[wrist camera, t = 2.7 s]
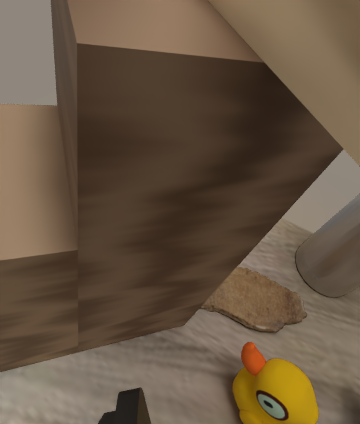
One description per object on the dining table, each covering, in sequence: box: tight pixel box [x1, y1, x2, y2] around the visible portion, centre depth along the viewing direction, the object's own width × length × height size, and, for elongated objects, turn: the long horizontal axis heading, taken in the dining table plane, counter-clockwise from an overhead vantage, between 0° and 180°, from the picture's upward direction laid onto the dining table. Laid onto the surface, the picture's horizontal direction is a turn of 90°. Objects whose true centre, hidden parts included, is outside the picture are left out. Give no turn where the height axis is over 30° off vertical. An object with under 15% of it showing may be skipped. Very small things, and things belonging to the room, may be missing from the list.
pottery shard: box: [200, 267, 307, 332], centre depth 40 cm, size 8×16×2 cm, turn 72°
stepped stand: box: [0, 0, 343, 372], centre depth 22 cm, size 24×11×32 cm, turn 107°
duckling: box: [233, 342, 319, 424], centre depth 30 cm, size 11×5×10 cm, turn 44°
